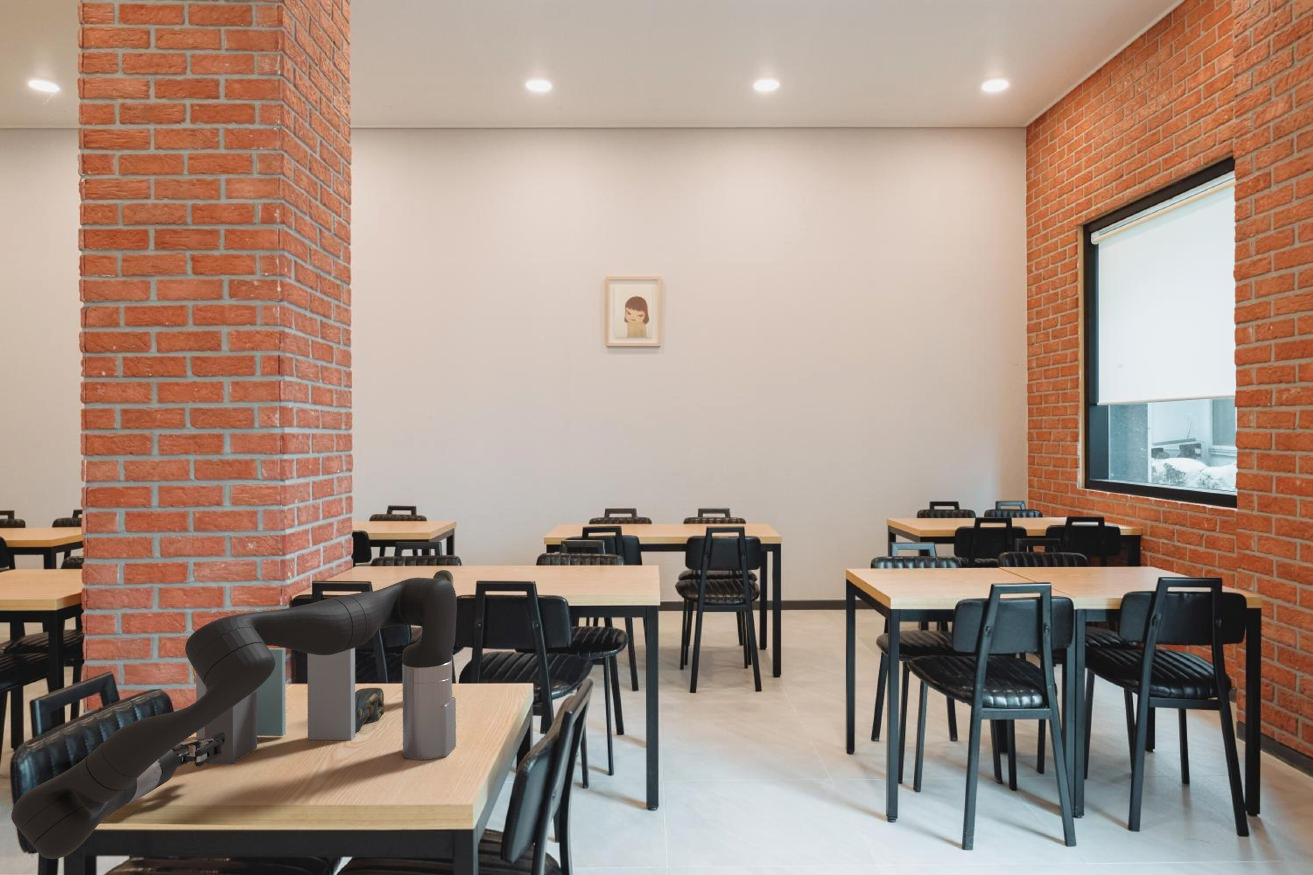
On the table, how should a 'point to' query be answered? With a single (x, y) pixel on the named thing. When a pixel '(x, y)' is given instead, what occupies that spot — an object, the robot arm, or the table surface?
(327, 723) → the wall frame
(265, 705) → the door
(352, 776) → the table surface
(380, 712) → the sculpture
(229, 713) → the doorstop block
